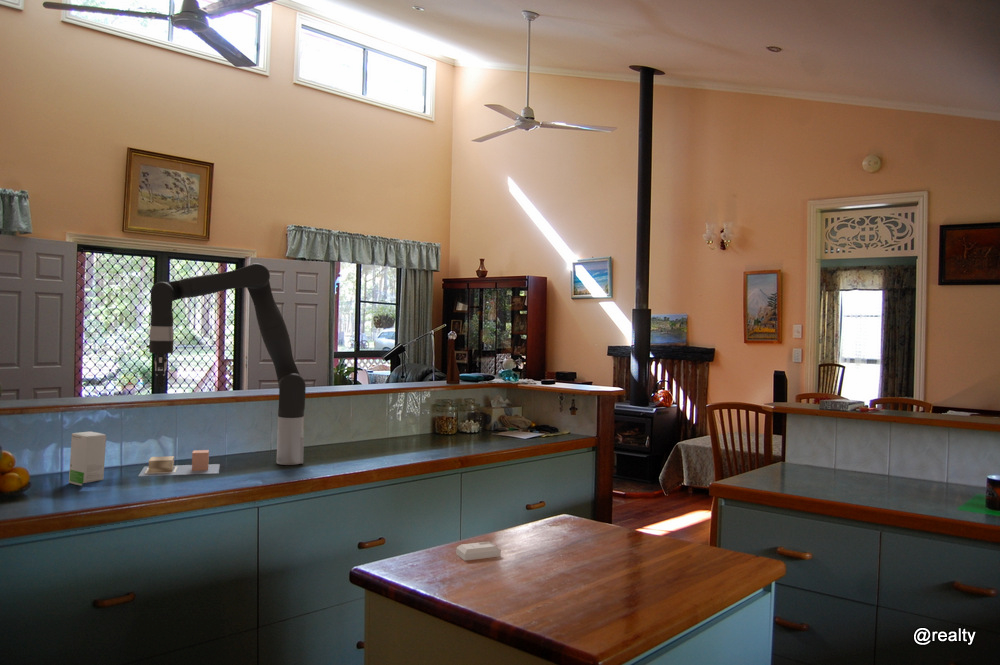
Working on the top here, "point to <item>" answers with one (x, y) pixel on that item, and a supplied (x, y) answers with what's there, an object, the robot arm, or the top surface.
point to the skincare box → (87, 457)
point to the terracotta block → (200, 460)
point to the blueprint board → (182, 470)
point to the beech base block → (161, 464)
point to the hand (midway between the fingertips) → (160, 386)
